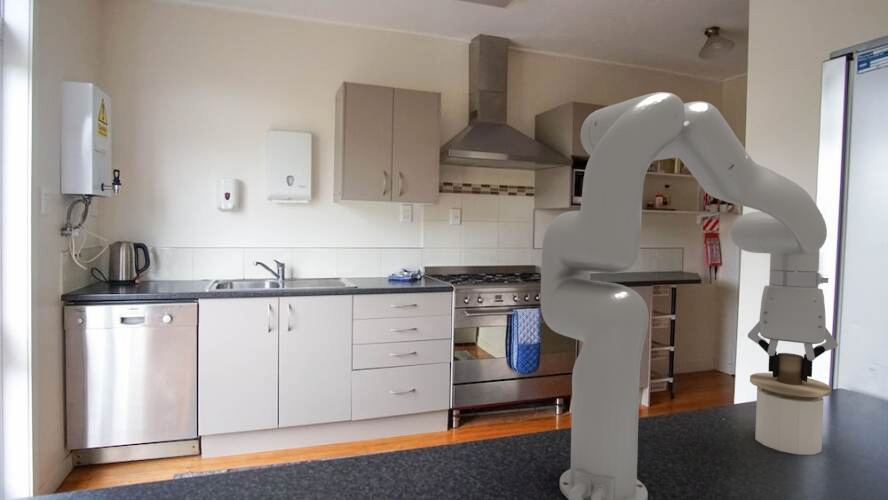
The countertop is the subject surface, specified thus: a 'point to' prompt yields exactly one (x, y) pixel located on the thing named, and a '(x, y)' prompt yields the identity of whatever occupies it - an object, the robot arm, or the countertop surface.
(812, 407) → the pot
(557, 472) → the countertop surface
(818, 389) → the lid
